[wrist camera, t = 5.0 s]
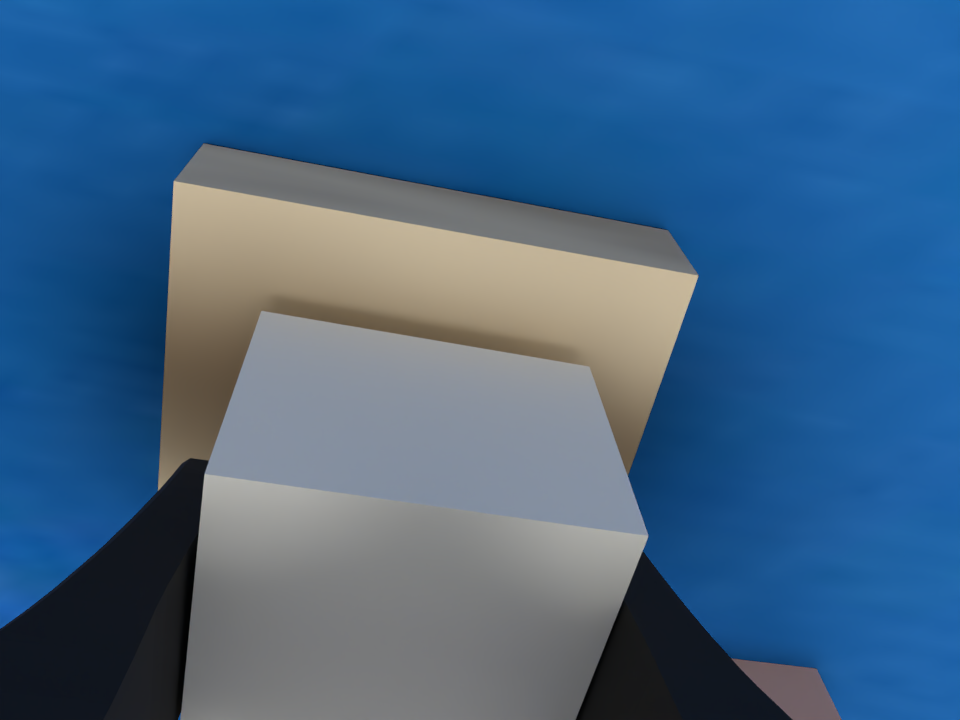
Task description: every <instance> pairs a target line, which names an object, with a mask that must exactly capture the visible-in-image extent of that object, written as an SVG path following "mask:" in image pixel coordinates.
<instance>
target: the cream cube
mask: <svg viewBox="0 0 960 720" xmlns="http://www.w3.org/2000/svg"><path fill="white" fill-rule="evenodd" d="M647 539H648V533H647V530H646V527H645V524H644V522H643V519H642V516H641V513H640V510H639V507H638V504H637V501H636V499H635V496H634V493H633V490H632V487H631V484H630V481H629V479H628V476H627V473H626V470H625V467H624V464H623V461H622V459H621V456H620V453H619V450H618V447H617V444H616V441H615V438H614V436H613V433H612V430H611V427H610V424H609V421H608V418H607V416H606V413H605V410H604V407H603V404H602V401H601V398H600V395H599V393H598V390H597V387H596V384H595V381H594V378H593V375H592V373H591V370H590V367H589V366H583V365H577V364H571V363H565V362H559V361H554V360H548V359H542V358H536V357H530V356H524V355H518V354H512V353H507V352H501V351H495V350H489V349H483V348H477V347H471V346H465V345H460V344H454V343H448V342H442V341H436V340H430V339H424V338H418V337H412V336H407V335H401V334H395V333H389V332H383V331H377V330H371V329H365V328H360V327H354V326H348V325H342V324H336V323H330V322H324V321H318V320H313V319H307V318H301V317H295V316H289V315H283V314H277V313H271V312H266V311H261V313H260V316H259V319H258V322H257V325H256V328H255V331H254V333H253V336H252V339H251V342H250V345H249V348H248V351H247V354H246V356H245V359H244V362H243V365H242V368H241V371H240V374H239V377H238V379H237V382H236V385H235V388H234V391H233V394H232V397H231V399H230V402H229V405H228V408H227V411H226V414H225V417H224V420H223V422H222V425H221V428H220V431H219V434H218V437H217V440H216V442H215V445H214V448H213V451H212V454H211V457H210V460H209V463H208V465H207V468H206V471H205V474H204V484H203V495H202V505H201V515H200V525H199V535H198V546H197V556H196V566H195V576H194V587H193V597H192V607H191V617H190V627H189V638H188V648H187V658H186V668H185V679H184V689H183V699H182V709H181V719H180V720H576V717H577V715H578V712H579V710H580V707H581V705H582V702H583V700H584V697H585V695H586V692H587V690H588V687H589V684H590V682H591V679H592V677H593V674H594V672H595V669H596V667H597V664H598V662H599V659H600V657H601V654H602V652H603V649H604V647H605V644H606V642H607V639H608V637H609V634H610V632H611V629H612V627H613V624H614V622H615V619H616V617H617V614H618V612H619V609H620V607H621V604H622V602H623V599H624V597H625V594H626V592H627V589H628V587H629V584H630V581H631V579H632V576H633V574H634V571H635V569H636V566H637V564H638V561H639V559H640V556H641V554H642V551H643V549H644V546H645V544H646V541H647Z"/></svg>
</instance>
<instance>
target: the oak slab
mask: <svg viewBox="0 0 960 720" xmlns="http://www.w3.org/2000/svg"><path fill="white" fill-rule="evenodd" d="M698 276H699V275H698V274H697V272H696V271H695V270H694V268H693V267H692V265H691V264H690V262H689V261H688V259H687V258H686V256H685V255H684V253H683V252H682V250H681V249H680V247H679V246H678V244H677V243H676V241H675V240H674V238H673V237H672V236H671V234H670V233H669V231H668V230H664V229H658V228H653V227H648V226H642V225H637V224H632V223H626V222H621V221H616V220H610V219H605V218H600V217H594V216H589V215H583V214H578V213H573V212H567V211H562V210H557V209H551V208H546V207H541V206H535V205H530V204H525V203H519V202H514V201H509V200H503V199H498V198H493V197H487V196H482V195H477V194H471V193H466V192H461V191H455V190H450V189H445V188H439V187H434V186H429V185H423V184H418V183H413V182H407V181H402V180H397V179H391V178H386V177H381V176H375V175H370V174H365V173H359V172H354V171H348V170H343V169H338V168H332V167H327V166H322V165H316V164H311V163H306V162H300V161H295V160H290V159H284V158H279V157H274V156H268V155H263V154H258V153H252V152H247V151H242V150H236V149H231V148H226V147H220V146H215V145H210V144H203V145H202V146H201V148H200V149H199V150H198V151H197V153H196V154H195V155H194V156H193V158H192V159H191V160H190V161H189V163H188V164H187V165H186V166H185V168H184V169H183V170H182V171H181V173H180V174H179V175H178V176H177V178H176V179H175V180H174V187H173V206H172V226H171V246H170V265H169V285H168V304H167V324H166V344H165V363H164V383H163V402H162V422H161V442H160V461H159V481H158V491H159V489H160V488H161V487H162V486H163V485H164V484H165V483H166V482H167V480H168V479H169V478H170V477H171V476H172V475H173V473H174V472H175V471H176V470H177V469H178V467H179V466H180V465H181V464H182V463H183V462H185V461H186V460H188V459H190V458H194V459H201V460H210V457H211V454H212V451H213V448H214V445H215V442H216V440H217V437H218V434H219V431H220V428H221V425H222V422H223V420H224V417H225V414H226V411H227V408H228V405H229V402H230V399H231V397H232V394H233V391H234V388H235V385H236V382H237V379H238V377H239V374H240V371H241V368H242V365H243V362H244V359H245V356H246V354H247V351H248V348H249V345H250V342H251V339H252V336H253V333H254V331H255V328H256V325H257V322H258V319H259V316H260V313H261V311H266V312H271V313H277V314H283V315H289V316H295V317H301V318H307V319H313V320H318V321H324V322H330V323H336V324H342V325H348V326H354V327H360V328H365V329H371V330H377V331H383V332H389V333H395V334H401V335H407V336H412V337H418V338H424V339H430V340H436V341H442V342H448V343H454V344H460V345H465V346H471V347H477V348H483V349H489V350H495V351H501V352H507V353H512V354H518V355H524V356H530V357H536V358H542V359H548V360H554V361H559V362H565V363H571V364H577V365H583V366H589V367H590V370H591V373H592V375H593V378H594V381H595V384H596V387H597V390H598V393H599V395H600V398H601V401H602V404H603V407H604V410H605V413H606V416H607V418H608V421H609V424H610V427H611V430H612V433H613V436H614V438H615V441H616V444H617V447H618V450H619V453H620V456H621V459H622V461H623V464H624V467H625V470H626V473H627V476H628V474H629V471H630V468H631V465H632V463H633V460H634V457H635V454H636V451H637V448H638V446H639V443H640V440H641V437H642V434H643V432H644V429H645V426H646V423H647V420H648V417H649V415H650V412H651V409H652V406H653V403H654V400H655V398H656V395H657V392H658V389H659V386H660V383H661V381H662V378H663V375H664V372H665V369H666V367H667V364H668V361H669V358H670V355H671V352H672V350H673V347H674V344H675V341H676V338H677V335H678V333H679V330H680V327H681V324H682V321H683V318H684V316H685V313H686V310H687V307H688V304H689V302H690V299H691V296H692V293H693V290H694V287H695V285H696V282H697V279H698Z"/></svg>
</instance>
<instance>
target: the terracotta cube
mask: <svg viewBox="0 0 960 720" xmlns="http://www.w3.org/2000/svg"><path fill="white" fill-rule="evenodd" d="M732 660H733V661H734V662H735V663H736V664H737V665H738V667H739V668H740V669H741V670H742V671H743V672H744V673H745V674H746V675H747V676H748V677H749V678H750V679H751V680H752V681H753V682H754V683H755V684H756V685H757V686H758V687H759V688H760V689H761V690H762V691H763V692H764V693H765V694H766V695H767V696H768V697H769V698H771V699H772V700H773V701H774V702H775V703H776V704H777V705H778V706H779V707H780V708H781V709H782V710H783V711H784V712H785V713H786V714H787V715H788V716H789V717H790V718H792V719H793V720H841V718H840V716H839V714H838V712H837V710H836V708H835V705H834V703H833V701H832V699H831V697H830V695H829V693H828V691H827V689H826V687H825V685H824V683H823V681H822V679H821V677H820V675H819V673H818V671H817V669H815V668H807V667H798V666H790V665H782V664H773V663H765V662H756V661H748V660H739V659H732Z"/></svg>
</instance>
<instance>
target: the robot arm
mask: <svg viewBox="0 0 960 720" xmlns="http://www.w3.org/2000/svg"><path fill="white" fill-rule="evenodd" d="M208 463H209V460H201V459H194V458H190V459H188V460H186V461H185V462H183V463H182V464H181V465H180V466H179V467H178V469H177V470H176V471H175V472H174V473H173V475H172V476H171V477H170V478H169V479H168V480H167V482H166V483H165V484H164V485H163V486H162V487H161V488H160V489H159V491H158V492H157V493H156V494H155V495H154V496H153V497H152V498H151V499H150V500H149V501H148V502H147V503H146V504H145V505H144V507H143V508H142V509H141V510H140V511H139V512H138V513H137V514H136V515H135V516H134V517H133V518H132V519H131V520H130V521H129V522H128V523H127V524H126V525H125V526H123V527H122V528H121V529H120V530H119V531H118V532H117V533H116V534H115V535H114V536H113V537H112V538H111V539H110V540H109V541H108V542H107V543H106V544H105V545H104V546H103V547H102V548H101V549H99V550H98V551H97V552H96V553H95V554H94V555H93V556H92V557H90V558H89V559H88V560H87V561H86V562H85V563H83V564H82V565H81V566H80V567H79V568H78V569H76V570H75V571H74V572H73V573H72V574H71V575H69V576H68V577H67V578H66V579H65V580H64V581H62V582H61V583H60V584H59V585H58V586H57V587H55V588H54V589H53V590H52V591H50V592H49V593H48V594H47V595H45V596H44V597H43V598H42V599H40V600H39V601H38V602H36V603H35V604H34V605H32V606H31V607H30V608H29V609H27V610H26V611H25V612H23V613H22V614H20V615H19V616H18V617H16V618H15V619H14V620H12V621H11V622H9V623H8V624H7V625H5V626H4V627H2V628H1V629H0V720H178V718H179V715H180V713H181V709H182V699H183V689H184V679H185V668H186V658H187V648H188V638H189V627H190V617H191V607H192V597H193V587H194V576H195V566H196V556H197V546H198V535H199V525H200V515H201V505H202V495H203V484H204V474H205V471H206V468H207V465H208ZM576 720H793V719H792V718H790V717H789V716H788V715H787V714H786V713H785V712H784V711H783V710H782V709H781V708H780V707H779V706H778V705H777V704H776V703H775V702H774V701H773V700H772V699H771V698H769V697H768V696H767V695H766V694H765V693H764V692H763V691H762V690H761V689H760V688H759V687H758V686H757V685H756V684H755V683H754V682H753V681H752V680H751V679H750V678H749V677H748V676H747V675H746V674H745V673H744V672H743V671H742V670H741V669H740V668H739V667H738V665H737V664H736V663H735V662H734V661H733V660H732V659H731V658H730V657H729V656H728V654H727V653H726V652H725V651H724V650H723V649H722V648H721V647H720V646H719V645H718V643H717V642H716V641H715V640H714V639H713V638H712V637H711V636H710V634H709V633H708V632H707V631H706V630H705V629H704V627H703V626H702V625H701V624H700V623H699V622H698V620H697V619H696V618H695V617H694V616H693V614H692V613H691V612H690V611H689V610H688V608H687V607H686V606H685V605H684V603H683V602H682V601H681V600H680V599H679V597H678V596H677V595H676V594H675V592H674V591H673V590H672V588H671V587H670V586H669V585H668V583H667V582H666V581H665V580H664V578H663V577H662V576H661V574H660V573H659V572H658V571H657V569H656V568H655V567H654V565H653V564H652V563H651V561H650V560H649V559H648V557H647V556H646V555H645V553H644V552H643V551H642V554H641V556H640V559H639V561H638V564H637V566H636V569H635V571H634V574H633V576H632V579H631V581H630V584H629V587H628V589H627V592H626V594H625V597H624V599H623V602H622V604H621V607H620V609H619V612H618V614H617V617H616V619H615V622H614V624H613V627H612V629H611V632H610V634H609V637H608V639H607V642H606V644H605V647H604V649H603V652H602V654H601V657H600V659H599V662H598V664H597V667H596V669H595V672H594V674H593V677H592V679H591V682H590V684H589V687H588V690H587V692H586V695H585V697H584V700H583V702H582V705H581V707H580V710H579V712H578V715H577V717H576Z"/></svg>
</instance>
